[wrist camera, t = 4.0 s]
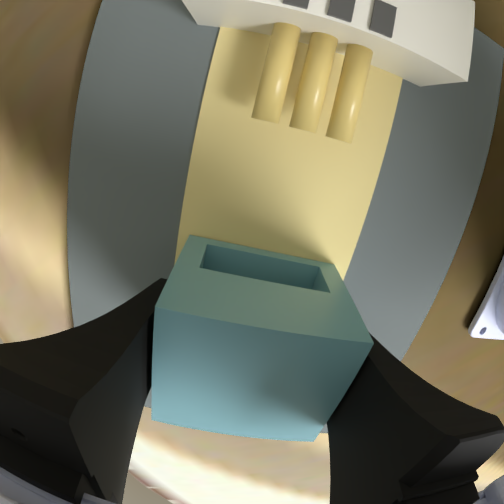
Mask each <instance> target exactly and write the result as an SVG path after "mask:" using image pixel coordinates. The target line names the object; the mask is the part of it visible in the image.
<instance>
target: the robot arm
mask: <svg viewBox="0 0 504 504" xmlns="http://www.w3.org/2000/svg"><path fill="white" fill-rule="evenodd" d="M167 280H168V279H164V278H160V279H158V280H157V281H155V282H154V283H152V284H151V285H150V286H148V287H147V288H145V289H144V290H143V291H141V292H140V293H138V294H137V295H135V296H134V297H132V298H131V299H129V300H128V301H126V302H125V303H123V304H122V305H120V306H118V307H116V308H115V309H113V310H111V311H110V312H108V313H106V314H104V315H102V316H100V317H98V318H96V319H94V320H91V321H89V322H87V323H85V324H82V325H80V326H77V327H74V328H71V329H68V330H65V331H62V332H59V333H56V334H53V335H49V336H45V337H41V338H37V339H32V340H27V341H21V342H13V343H5V344H0V504H122V500H123V494H124V488H125V483H126V477H127V472H128V468H129V463H130V458H131V454H132V449H133V445H134V441H135V437H136V433H137V429H138V425H139V421H140V418H141V414H142V410H143V407H144V404H145V402H146V399H147V396H148V394H149V391H150V389H151V387H152V352H153V330H154V313H155V305H156V303H157V301H158V299H159V297H160V295H161V292H162V290H163V288H164V286H165V284H166V282H167ZM468 333H469V334H470V335H471V337H476V338H487V339H500V340H504V256H503V258H502V261H501V263H500V266H499V268H498V270H497V272H496V275H495V277H494V279H493V281H492V283H491V285H490V287H489V290H488V292H487V294H486V296H485V298H484V300H483V302H482V304H481V306H480V307H479V309H478V311H477V313H476V315H475V317H474V319H473V321H472V322H471V324H470V326H469V328H468ZM369 334H370V333H369ZM370 336H371V338H372V340H373V342H374V344H373V346H372V348H371V350H370V352H369V353H368V355H367V357H366V359H365V361H364V362H363V364H362V366H361V368H360V369H359V371H358V373H357V375H356V376H355V378H354V380H353V381H352V383H351V385H350V386H349V388H348V390H347V391H346V393H345V395H344V396H343V398H342V399H341V401H340V403H339V404H338V406H337V407H336V409H335V410H334V412H333V413H332V415H331V416H330V418H329V419H328V421H327V422H326V423H327V428H328V435H329V448H330V475H331V482H330V504H504V475H503V476H501V477H499V478H498V479H496V480H495V481H493V482H492V483H491V484H489V485H488V486H487V487H486V488H485V489H484V490H483V491H480V492H477V489H476V487H475V484H474V481H476V480H477V479H478V477H479V476H478V474H477V472H476V470H477V469H478V468H479V467H480V466H481V465H482V464H483V463H484V462H486V461H487V460H488V459H489V458H490V457H491V456H492V455H493V454H494V453H495V452H496V451H497V450H498V449H499V448H500V446H501V445H502V444H503V442H504V426H503V424H502V423H501V421H500V419H499V418H498V417H497V416H496V415H493V414H490V413H487V412H485V411H482V410H479V409H476V408H474V407H471V406H469V405H467V404H465V403H463V402H461V401H459V400H457V399H455V398H453V397H451V396H449V395H447V394H445V393H444V392H442V391H441V390H439V389H437V388H436V387H434V386H432V385H431V384H429V383H428V382H426V381H425V380H423V379H422V378H421V377H419V376H418V375H417V374H415V373H414V372H413V371H411V370H410V369H409V368H407V367H406V366H405V365H404V364H403V363H401V362H400V361H399V360H398V359H397V358H396V357H395V356H393V355H392V354H391V353H390V352H389V351H388V350H387V349H386V348H385V347H384V346H383V345H382V344H381V343H380V342H379V341H377V340H376V339H375V338H374V337H373V336H372V335H371V334H370Z"/></svg>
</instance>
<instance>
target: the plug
mask: <svg viewBox="0 0 504 504" xmlns="http://www.w3.org/2000/svg"><path fill="white" fill-rule="evenodd" d="M373 344H374V342H373V340H372V338H371V336H370V334H369V332H368V330H367V328H366V326H365V324H364V322H363V320H362V317H361V315H360V313H359V311H358V309H357V307H356V305H355V303H354V301H353V299H352V297H351V295H350V294H349V292H348V290H347V288H346V286H345V284H344V282H343V280H342V278H341V276H340V274H339V272H338V270H337V268H336V267H335V265H334V264H330V263H325V262H320V261H315V260H311V259H306V258H301V257H296V256H291V255H286V254H282V253H277V252H272V251H267V250H262V249H257V248H252V247H248V246H243V245H238V244H233V243H228V242H223V241H218V240H213V239H208V238H204V237H199V236H194V235H189V237H188V239H187V241H186V243H185V245H184V247H183V249H182V251H181V253H180V255H179V257H178V259H177V261H176V263H175V265H174V267H173V269H172V271H171V273H170V275H169V278H168V280H167V282H166V284H165V286H164V288H163V290H162V292H161V295H160V297H159V299H158V301H157V303H156V305H155V313H154V330H153V352H152V420H154V421H158V422H163V423H167V424H172V425H176V426H181V427H186V428H192V429H197V430H203V431H209V432H215V433H221V434H228V435H236V436H244V437H253V438H262V439H274V440H288V441H310V442H313V441H314V440H315V438H316V437H317V436H318V434H319V433H320V431H321V430H322V428H323V427H324V425H325V424H326V422H327V421H328V419H329V418H330V416H331V415H332V413H333V412H334V410H335V409H336V407H337V406H338V404H339V403H340V401H341V399H342V398H343V396H344V395H345V393H346V391H347V390H348V388H349V386H350V385H351V383H352V381H353V380H354V378H355V376H356V375H357V373H358V371H359V369H360V368H361V366H362V364H363V362H364V361H365V359H366V357H367V355H368V353H369V352H370V350H371V348H372V346H373Z"/></svg>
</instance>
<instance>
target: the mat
mask: <svg viewBox="0 0 504 504" xmlns="http://www.w3.org/2000/svg"><path fill="white" fill-rule="evenodd" d="M270 38H271V35H266V34H261V33H256V32H251V31H245V30H239V29H233V28H226V27H213V26H204V25H197V23H196V21H195V20H194V18H193V17H192V15H191V14H190V12H189V11H188V9H187V7H186V6H185V4H184V3H183V1H182V0H102V3H101V6H100V9H99V12H98V16H97V19H96V22H95V26H94V29H93V33H92V36H91V40H90V44H89V48H88V52H87V56H86V60H85V64H84V69H83V74H82V79H81V84H80V89H79V94H78V100H77V106H76V113H75V119H74V127H73V135H72V144H71V153H70V165H69V180H68V203H67V246H68V270H69V284H70V296H71V306H72V315H73V323H74V327H77V326H80V325H82V324H85V323H87V322H89V321H91V320H94V319H96V318H98V317H100V316H102V315H104V314H106V313H108V312H110V311H111V310H113V309H115V308H116V307H118V306H120V305H122V304H123V303H125V302H126V301H128V300H129V299H131V298H132V297H134V296H135V295H137V294H138V293H140V292H141V291H143V290H144V289H145V288H147V287H148V286H150V285H151V284H152V283H154V282H155V281H157V280H158V279H160V278H164V279H168V278H169V275H170V273H171V271H172V269H173V267H174V265H175V263H176V261H177V259H178V257H179V255H180V253H181V251H182V249H183V247H184V245H185V243H186V241H187V239H188V237H189V235H194V236H199V237H204V238H208V239H213V240H218V241H223V242H228V243H233V244H238V245H243V246H248V247H252V248H257V249H262V250H267V251H272V252H277V253H282V254H286V255H291V256H296V257H301V258H306V259H311V260H315V261H320V262H325V263H330V264H334V265H335V267H336V268H337V270H338V272H339V274H340V276H341V278H342V280H343V282H344V284H345V286H346V288H347V290H348V292H349V294H350V295H351V297H352V299H353V301H354V303H355V305H356V307H357V309H358V311H359V313H360V315H361V317H362V320H363V322H364V324H365V326H366V328H367V330H368V332H369V333H370V334H371V335H372V336H373V337H374V338H375V339H376V340H377V341H379V342H380V343H381V344H382V345H383V346H384V347H385V348H386V349H387V350H388V351H389V352H390V353H391V354H392V355H393V356H395V357H396V358H397V359H398V360H399V361H400V362H401V360H402V358H403V357H404V355H405V353H406V352H407V350H408V348H409V346H410V345H411V343H412V341H413V339H414V338H415V336H416V334H417V332H418V330H419V329H420V327H421V325H422V323H423V321H424V319H425V317H426V315H427V313H428V312H429V310H430V308H431V306H432V304H433V302H434V300H435V297H436V295H437V293H438V291H439V289H440V287H441V285H442V283H443V280H444V278H445V276H446V274H447V272H448V269H449V267H450V265H451V262H452V260H453V258H454V255H455V253H456V250H457V248H458V245H459V243H460V240H461V238H462V235H463V232H464V230H465V227H466V224H467V221H468V219H469V216H470V213H471V210H472V207H473V204H474V201H475V198H476V194H477V191H478V188H479V185H480V181H481V178H482V174H483V171H484V167H485V163H486V159H487V155H488V151H489V147H490V143H491V138H492V133H493V129H494V124H495V118H496V113H497V107H498V101H499V94H500V87H501V79H502V70H503V59H504V48H502V47H501V46H500V45H498V44H497V43H496V42H494V41H493V40H492V39H490V38H489V37H488V36H486V35H485V34H483V33H482V32H481V31H479V30H478V29H476V28H475V27H474V33H473V44H472V53H471V62H470V69H469V76H468V82H457V83H447V84H438V85H430V86H422V87H420V86H418V85H415V84H413V83H411V82H409V81H407V80H404V79H403V78H402V77H399V76H397V75H395V74H392V73H390V72H388V71H385V70H383V69H380V68H378V67H375V66H372V65H370V70H369V74H368V79H367V83H366V87H365V92H364V96H363V100H362V105H361V109H360V113H359V117H358V121H357V125H356V129H355V133H354V137H353V140H352V144H350V143H346V142H343V141H339V140H336V139H333V138H329V137H326V132H327V128H328V124H329V120H330V116H331V112H332V108H333V104H334V99H335V95H336V91H337V87H338V83H339V78H340V74H341V70H342V65H343V61H344V56H345V55H342V54H338V53H335V57H334V61H333V66H332V70H331V74H330V79H329V83H328V87H327V91H326V95H325V99H324V104H323V108H322V112H321V116H320V120H319V124H318V128H317V132H316V133H312V132H308V131H304V130H300V129H296V128H293V127H289V124H290V120H291V116H292V112H293V108H294V104H295V99H296V95H297V91H298V87H299V83H300V79H301V74H302V70H303V66H304V62H305V58H306V54H307V49H308V44H305V43H301V42H298V46H297V50H296V54H295V59H294V63H293V67H292V71H291V75H290V79H289V83H288V88H287V92H286V96H285V100H284V104H283V108H282V112H281V117H280V121H279V124H277V123H272V122H268V121H263V120H259V119H254V118H251V116H252V112H253V107H254V103H255V99H256V95H257V90H258V86H259V82H260V78H261V74H262V70H263V66H264V62H265V58H266V54H267V50H268V46H269V42H270ZM144 406H145V407H149V408H152V387H151V389H150V391H149V394H148V396H147V399H146V402H145V404H144ZM320 433H328V428H327V423H326V424H325V425H324V427H323V428H322V430H321V431H320Z"/></svg>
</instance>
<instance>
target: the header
mask: <svg viewBox="0 0 504 504" xmlns="http://www.w3.org/2000/svg"><path fill="white" fill-rule="evenodd" d="M182 1H183V3H184V4H185V6H186V7H187V9H188V11H189V12H190V14H191V15H192V17H193V18H194V20H195V21H196V23H197V25H204V26H213V27H226V28H233V29H239V30H245V31H251V32H256V33H261V34H266V35H271V38H270V42H269V46H268V50H267V54H266V58H265V62H264V66H263V70H262V74H261V78H260V82H259V86H258V90H257V95H256V99H255V103H254V107H253V112H252V116H251V118H254V119H259V120H263V121H268V122H272V123H277V124H279V121H280V117H281V112H282V108H283V104H284V100H285V96H286V92H287V88H288V83H289V79H290V75H291V71H292V67H293V63H294V59H295V54H296V50H297V46H298V42H301V43H305V44H308V49H307V54H306V58H305V62H304V66H303V70H302V74H301V79H300V83H299V87H298V91H297V95H296V99H295V104H294V108H293V112H292V116H291V120H290V124H289V127H293V128H296V129H300V130H304V131H308V132H312V133H316V132H317V128H318V124H319V120H320V116H321V112H322V108H323V104H324V99H325V95H326V91H327V87H328V83H329V79H330V74H331V70H332V66H333V61H334V57H335V53H338V54H342V55H345V56H344V61H343V65H342V70H341V74H340V78H339V83H338V87H337V91H336V95H335V99H334V104H333V108H332V112H331V116H330V120H329V124H328V128H327V132H326V137H329V138H333V139H336V140H339V141H343V142H346V143H350V144H352V140H353V137H354V133H355V129H356V125H357V121H358V117H359V113H360V109H361V105H362V100H363V96H364V92H365V87H366V83H367V79H368V74H369V70H370V65H372V66H375V67H378V68H380V69H383V70H385V71H388V72H390V73H392V74H395V75H397V76H399V77H402V78H403V79H404V80H407V81H409V82H411V83H413V84H415V85H418V86H420V87H422V86H430V85H438V84H447V83H457V82H468V76H469V69H470V62H471V53H472V44H473V33H474V18H475V2H474V1H472V0H182Z"/></svg>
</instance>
